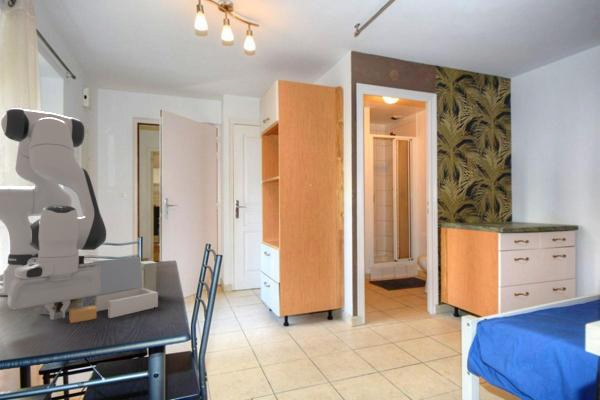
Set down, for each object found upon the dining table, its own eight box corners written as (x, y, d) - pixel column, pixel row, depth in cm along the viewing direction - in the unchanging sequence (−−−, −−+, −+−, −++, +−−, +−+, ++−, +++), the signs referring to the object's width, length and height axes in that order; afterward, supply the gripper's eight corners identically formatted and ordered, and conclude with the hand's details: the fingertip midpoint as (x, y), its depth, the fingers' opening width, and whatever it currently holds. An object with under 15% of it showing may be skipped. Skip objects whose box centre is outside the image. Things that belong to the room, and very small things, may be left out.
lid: (96, 295, 100) (94, 295, 101) (142, 287, 111) (140, 287, 112) (94, 261, 101) (92, 261, 102) (140, 256, 112) (138, 256, 113)
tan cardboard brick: (69, 320, 92) (69, 309, 92) (94, 315, 96) (94, 305, 96) (70, 323, 89) (70, 312, 89) (96, 319, 93) (96, 308, 93)
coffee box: (57, 316, 95) (58, 259, 96) (39, 314, 96) (40, 258, 97) (84, 306, 104) (85, 255, 104) (66, 305, 105) (68, 254, 106)
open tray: (94, 310, 100) (94, 295, 100) (140, 300, 111) (141, 287, 111) (110, 318, 93) (110, 302, 93) (157, 306, 104) (157, 292, 104)
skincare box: (138, 295, 117) (138, 261, 118) (151, 293, 120) (152, 260, 121) (142, 299, 112) (143, 263, 113) (156, 297, 115) (157, 262, 116)
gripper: (96, 260, 99) (95, 307, 98) (6, 270, 83) (4, 326, 82) (105, 262, 95) (104, 311, 94) (12, 273, 79) (10, 332, 78)
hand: (57, 318), depth 88 cm, fingers closed
